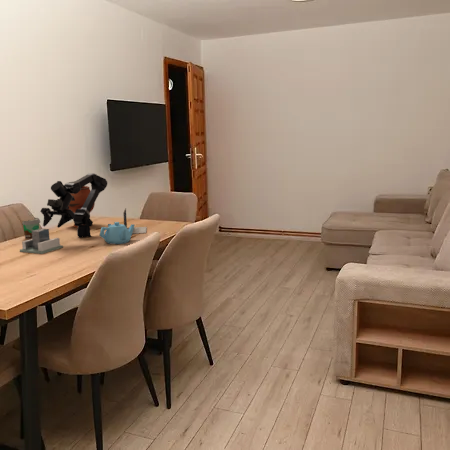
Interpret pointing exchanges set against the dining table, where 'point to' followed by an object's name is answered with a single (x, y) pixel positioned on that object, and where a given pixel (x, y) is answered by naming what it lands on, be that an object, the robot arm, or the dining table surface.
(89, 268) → the dining table surface
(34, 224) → the food container
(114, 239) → the teapot
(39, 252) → the vise
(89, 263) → the dining table surface
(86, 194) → the brown clay vase
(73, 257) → the dining table surface
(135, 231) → the laptop
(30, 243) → the block
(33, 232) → the steel block
